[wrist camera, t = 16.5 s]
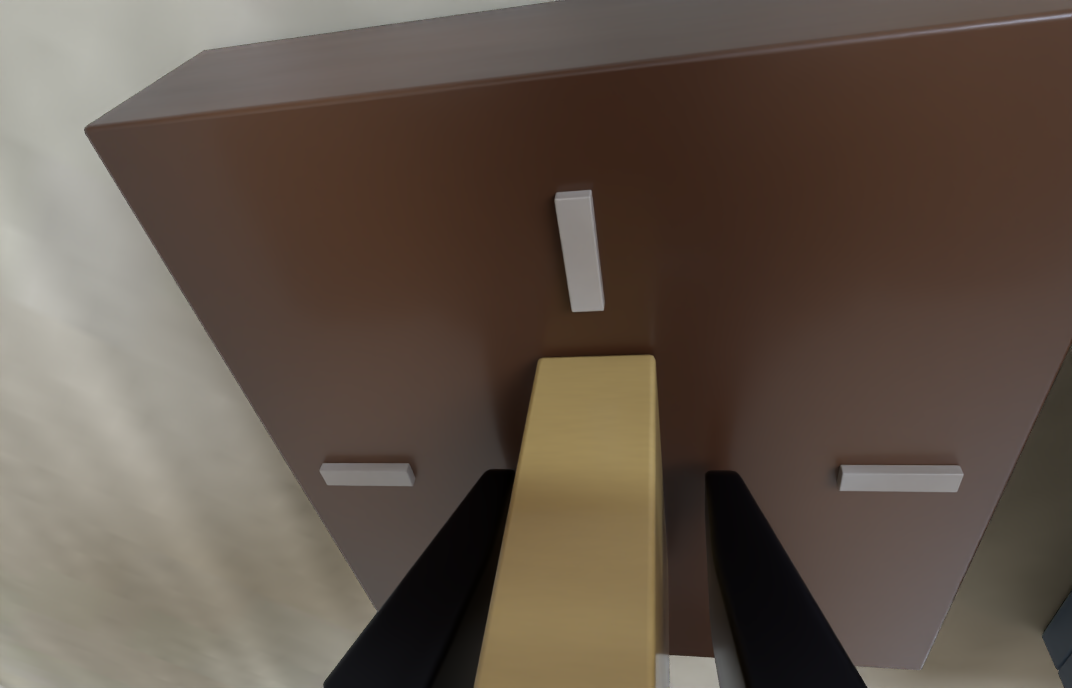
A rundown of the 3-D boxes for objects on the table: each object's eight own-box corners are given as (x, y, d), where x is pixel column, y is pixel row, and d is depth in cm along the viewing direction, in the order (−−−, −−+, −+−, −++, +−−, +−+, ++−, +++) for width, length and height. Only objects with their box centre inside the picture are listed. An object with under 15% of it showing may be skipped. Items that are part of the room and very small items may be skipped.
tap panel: (424, 535, 16) (390, 647, 14) (201, 49, 9) (69, 135, 7) (886, 547, 14) (925, 681, 12) (1077, -74, 7) (1253, -3, 5)
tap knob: (668, 564, 11) (672, 907, 7) (580, 561, 11) (549, 891, 8) (656, 351, 8) (656, 761, 5) (536, 355, 8) (458, 743, 5)
